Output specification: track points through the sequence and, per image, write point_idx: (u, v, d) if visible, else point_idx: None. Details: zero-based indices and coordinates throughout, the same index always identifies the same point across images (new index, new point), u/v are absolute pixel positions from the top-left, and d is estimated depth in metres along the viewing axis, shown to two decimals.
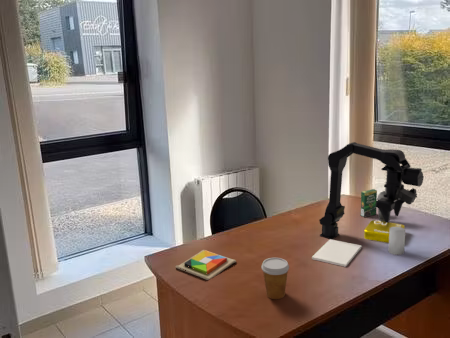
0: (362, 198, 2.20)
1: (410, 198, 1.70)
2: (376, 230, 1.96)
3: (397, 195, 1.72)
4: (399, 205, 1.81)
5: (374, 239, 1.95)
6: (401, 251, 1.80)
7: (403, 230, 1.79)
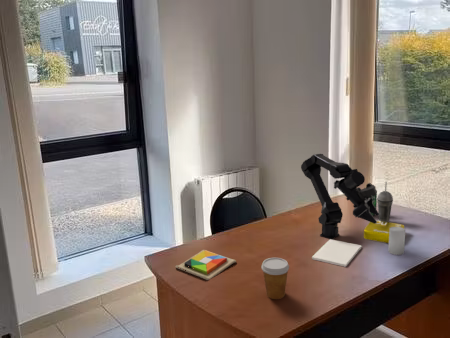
0: None
1: (372, 189, 1.78)
2: (376, 230, 1.96)
3: (362, 196, 1.80)
4: (371, 205, 1.87)
5: (374, 239, 1.95)
6: (401, 251, 1.80)
7: (403, 230, 1.79)
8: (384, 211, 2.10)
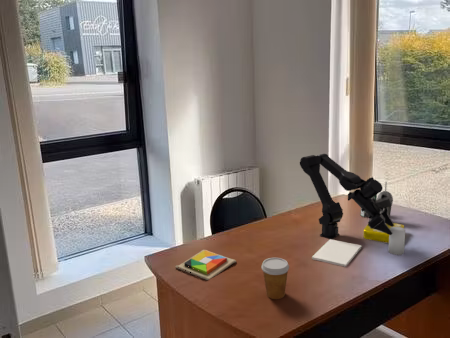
0: None
1: (387, 200, 1.77)
2: (375, 229, 1.96)
3: (377, 207, 1.79)
4: (386, 216, 1.86)
5: (373, 239, 1.95)
6: (401, 251, 1.80)
7: (403, 230, 1.79)
8: None
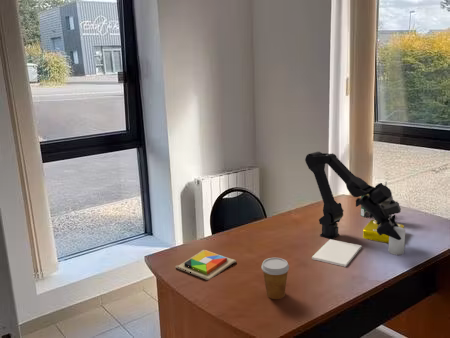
0: None
1: (396, 207, 1.76)
2: (375, 229, 1.96)
3: (385, 214, 1.78)
4: (394, 223, 1.84)
5: (373, 239, 1.95)
6: (401, 251, 1.80)
7: (403, 230, 1.79)
8: None
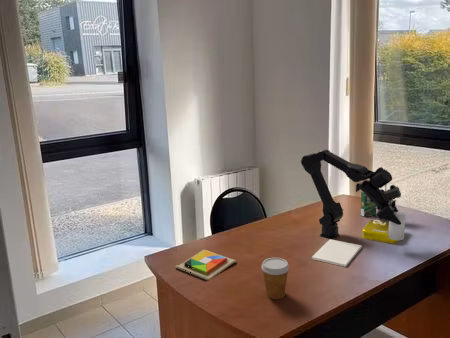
0: (362, 198, 2.20)
1: (396, 191, 1.75)
2: (374, 229, 1.96)
3: (385, 198, 1.77)
4: (394, 209, 1.83)
5: (372, 238, 1.95)
6: (401, 236, 1.79)
7: (403, 215, 1.78)
8: None
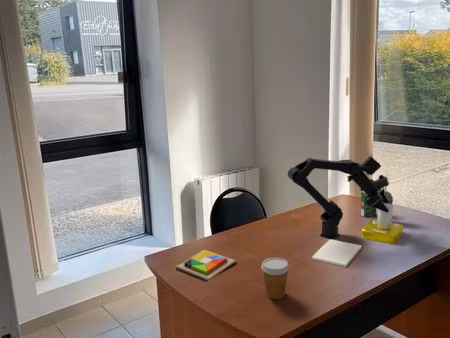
0: (362, 198, 2.20)
1: (384, 180, 1.91)
2: (374, 229, 1.97)
3: (375, 187, 1.93)
4: (383, 196, 2.00)
5: (371, 238, 1.95)
6: (389, 225, 1.95)
7: (391, 206, 1.95)
8: None
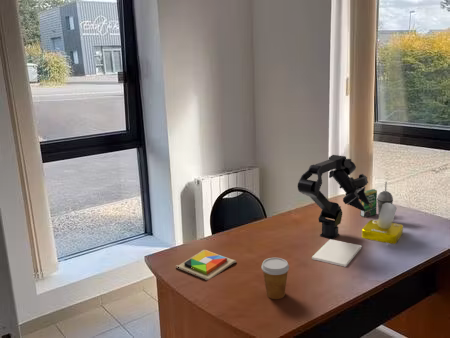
0: None
1: (362, 180, 1.94)
2: (374, 229, 1.97)
3: (353, 185, 1.96)
4: (363, 195, 2.03)
5: (371, 238, 1.95)
6: (385, 226, 1.95)
7: (393, 210, 1.91)
8: None
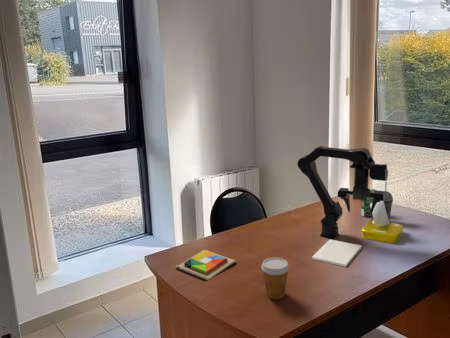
0: None
1: (352, 193, 1.83)
2: (374, 229, 1.97)
3: (353, 189, 1.88)
4: (372, 204, 1.88)
5: (371, 238, 1.95)
6: (379, 223, 1.96)
7: (378, 203, 1.96)
8: None
